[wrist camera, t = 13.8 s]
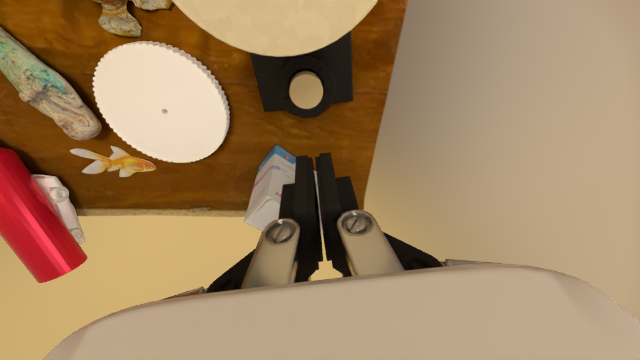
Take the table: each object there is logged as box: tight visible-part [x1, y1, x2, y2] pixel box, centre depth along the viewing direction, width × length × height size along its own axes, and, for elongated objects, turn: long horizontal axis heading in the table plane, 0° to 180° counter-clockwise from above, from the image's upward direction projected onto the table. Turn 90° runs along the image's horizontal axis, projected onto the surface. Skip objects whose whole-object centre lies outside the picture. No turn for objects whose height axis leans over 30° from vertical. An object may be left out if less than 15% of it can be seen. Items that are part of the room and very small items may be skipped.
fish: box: [70, 146, 156, 177], centre depth 34 cm, size 10×1×5 cm
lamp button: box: [289, 71, 323, 109], centre depth 27 cm, size 4×4×2 cm
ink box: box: [244, 145, 323, 235], centre depth 32 cm, size 9×5×12 cm, turn 49°
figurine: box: [0, 26, 102, 140], centre depth 26 cm, size 6×15×4 cm, turn 18°
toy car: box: [32, 175, 85, 244], centre depth 36 cm, size 6×12×3 cm, turn 175°
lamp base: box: [250, 31, 353, 118], centre depth 26 cm, size 15×11×4 cm
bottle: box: [0, 147, 87, 283], centre depth 32 cm, size 6×5×20 cm
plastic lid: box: [93, 41, 230, 163], centre depth 29 cm, size 14×14×2 cm
